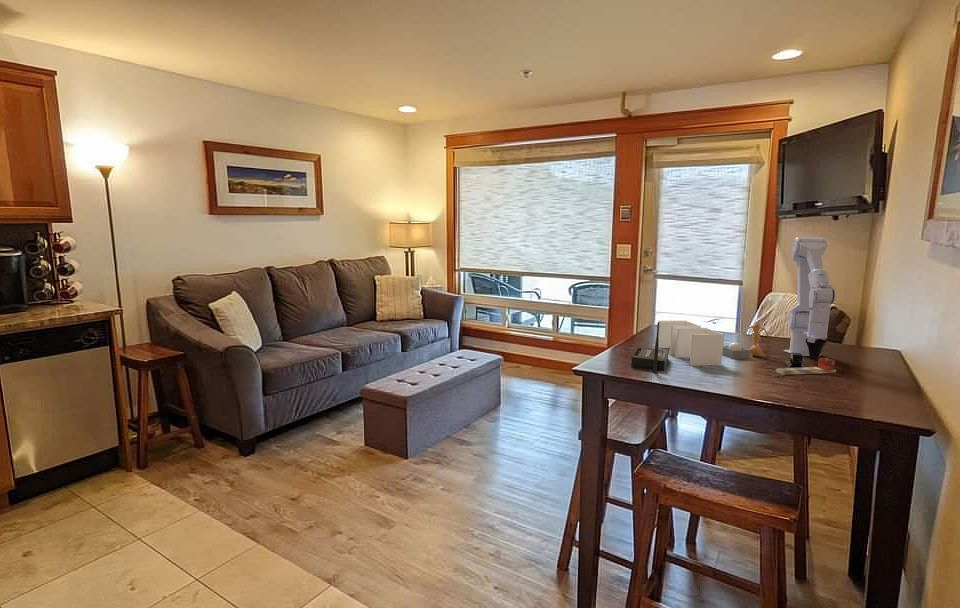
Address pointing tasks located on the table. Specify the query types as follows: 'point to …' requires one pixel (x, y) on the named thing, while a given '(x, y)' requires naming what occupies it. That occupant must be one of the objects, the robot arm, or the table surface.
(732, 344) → the white glossy sphere
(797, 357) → the black piece
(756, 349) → the figurine
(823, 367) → the space track
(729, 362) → the table surface
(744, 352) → the housing
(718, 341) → the white brackets
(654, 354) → the wireless controller
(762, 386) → the table surface
